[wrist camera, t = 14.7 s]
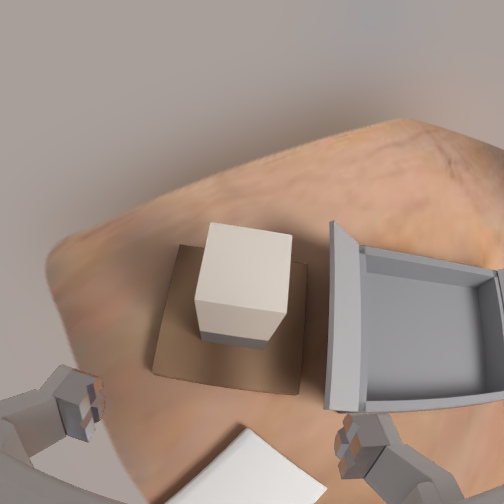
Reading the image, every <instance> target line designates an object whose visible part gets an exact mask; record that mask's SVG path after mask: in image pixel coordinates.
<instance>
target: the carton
mask: <svg viewBox="0 0 504 504" xmlns="http://www.w3.org/2000/svg"><path fill="white" fill-rule="evenodd" d="M500 400H504V269H500V270H497V271H495V270H490V269H485V268H480V267H475V266H470V265H465V264H460V263H454V262H449V261H444V260H439V259H434V258H428V257H423V256H418V255H412V254H407V253H401V252H396V251H390V250H385V249H379V248H374V247H368V246H362V245H359V244H358V243H357V242H356V241H355V240H354V239H353V238H352V237H351V236H350V235H349V234H348V233H347V232H346V231H345V230H344V229H343V228H342V227H341V226H339V225H338V224H337V223H336V222H335V221H334V220H333V221H331V222H330V297H329V330H328V352H327V370H326V385H325V399H324V410H336V411H338V413H396V412H414V411H428V410H439V409H448V408H457V407H465V406H472V405H479V404H486V403H491V402H495V401H500Z"/></svg>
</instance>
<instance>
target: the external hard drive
mask: <svg viewBox="0 0 504 504" xmlns="http://www.w3.org/2000/svg"><path fill="white" fill-rule="evenodd" d="M326 490H327V487H325V486H324V485H322V484H321V483H319V482H318V481H317V480H315V479H314V478H312V477H311V476H310V475H308V474H307V473H305V472H304V471H303V470H301V469H300V468H299V467H297V466H296V465H295V464H293V463H292V462H291V461H289V460H288V459H287V458H285V457H284V456H283V455H281V454H280V453H279V452H277V451H276V450H275V449H274V448H272V447H271V446H270V445H269V444H267V443H266V442H265V441H264V440H263V439H261V438H260V437H259V436H258V435H256V434H255V433H254V432H253V431H252V430H250V428H248V427H246V428H245V429H244V430H243V431H242V432H241V433H240V434H239V435H238V436H237V437H236V438H235V439H234V440H233V441H232V442H231V443H230V444H229V445H228V446H227V447H226V448H225V449H224V450H223V451H222V452H221V453H220V454H219V455H218V456H217V457H216V458H215V459H214V460H213V461H212V462H210V463H209V464H208V465H207V466H206V467H205V468H204V469H203V470H202V471H201V472H200V473H199V474H197V475H196V476H195V477H194V478H193V479H192V480H191V481H190V482H188V483H187V484H186V485H185V486H184V487H183V488H182V489H180V490H179V491H178V492H177V493H176V494H175V495H173V496H172V497H171V498H170V499H169V500H168V501H166V502H165V503H164V504H314V503H315V502H316V501H317V499H318V498H319V497H320V496H321V495H322V494H323V493H324V492H325V491H326Z"/></svg>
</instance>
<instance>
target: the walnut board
mask: <svg viewBox="0 0 504 504" xmlns="http://www.w3.org/2000/svg"><path fill="white" fill-rule="evenodd" d="M204 250H205V248H199V247H192V246H186V245H180V246H179V250H178V254H177V258H176V262H175V266H174V270H173V275H172V279H171V283H170V287H169V291H168V296H167V300H166V304H165V309H164V313H163V318H162V323H161V327H160V332H159V337H158V342H157V346H156V351H155V357H154V362H153V367H152V372H151V373H153V374H154V375H158V376H163V377H168V378H173V379H178V380H183V381H189V382H194V383H200V384H206V385H212V386H219V387H225V388H232V389H240V390H248V391H256V392H265V393H275V394H286V395H298V394H299V387H300V375H301V363H302V350H303V336H304V321H305V304H306V284H307V264H304V263H297V262H290V277H289V290H288V303H287V313H286V315H285V316H284V318H283V320H282V321H281V323H280V324H279V326H278V327H277V329H276V330H275V332H274V333H273V335H272V336H271V338H270V339H269V341H268V342H267V344H266V345H265V347H264V348H263V350H261V349H253V348H246V347H239V346H232V345H225V344H219V343H212V342H206V341H202V339H201V334H200V329H199V323H198V318H197V312H196V306H195V300H194V299H195V294H196V289H197V284H198V279H199V274H200V269H201V264H202V260H203V255H204Z"/></svg>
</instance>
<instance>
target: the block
mask: <svg viewBox="0 0 504 504" xmlns="http://www.w3.org/2000/svg"><path fill="white" fill-rule="evenodd" d="M291 247H292V235H289V234H283V233H277V232H271V231H264V230H258V229H252V228H245V227H239V226H232V225H226V224H219V223H212V222H211V223H210V227H209V232H208V236H207V241H206V246H205V250H204V255H203V260H202V264H201V269H200V274H199V279H198V284H197V289H196V294H195V299H194V300H195V306H196V312H197V318H198V323H199V329H200V334H201V339H202V341H206V342H212V343H219V344H225V345H232V346H239V347H246V348H253V349H261V350H263V348H264V347H265V345H266V344H267V342H268V341H269V339H270V338H271V336H272V335H273V333H274V332H275V330H276V329H277V327H278V326H279V324H280V323H281V321H282V320H283V318H284V316H285V315H286V313H287V303H288V290H289V277H290V262H291Z"/></svg>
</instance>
